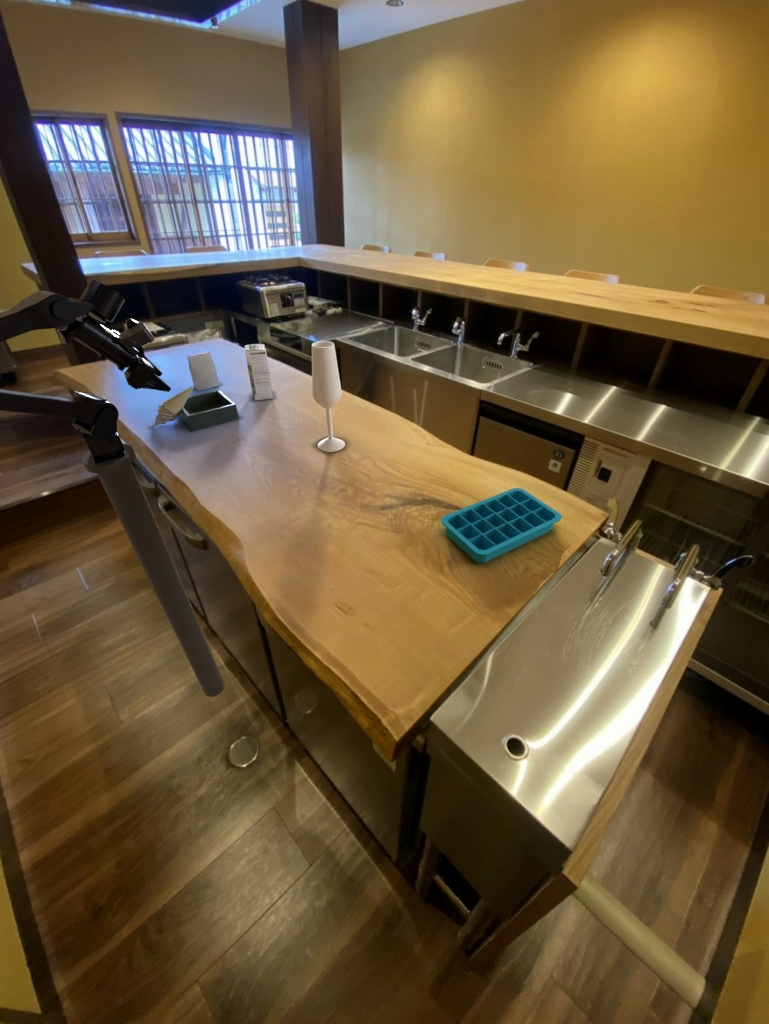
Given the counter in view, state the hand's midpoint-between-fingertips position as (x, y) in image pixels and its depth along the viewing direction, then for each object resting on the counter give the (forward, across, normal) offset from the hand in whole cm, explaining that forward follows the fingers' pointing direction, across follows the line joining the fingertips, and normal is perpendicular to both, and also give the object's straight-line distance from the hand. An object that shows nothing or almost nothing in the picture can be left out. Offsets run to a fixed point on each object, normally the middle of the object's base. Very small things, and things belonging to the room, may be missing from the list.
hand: (165, 382), depth 105 cm
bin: (+14, 0, +2) cm, 14 cm away
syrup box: (+26, +6, -12) cm, 29 cm away
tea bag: (+20, +23, -1) cm, 30 cm away
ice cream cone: (+6, +1, -3) cm, 7 cm away
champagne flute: (+25, -32, -17) cm, 44 cm away
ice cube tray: (+29, -78, -28) cm, 88 cm away
